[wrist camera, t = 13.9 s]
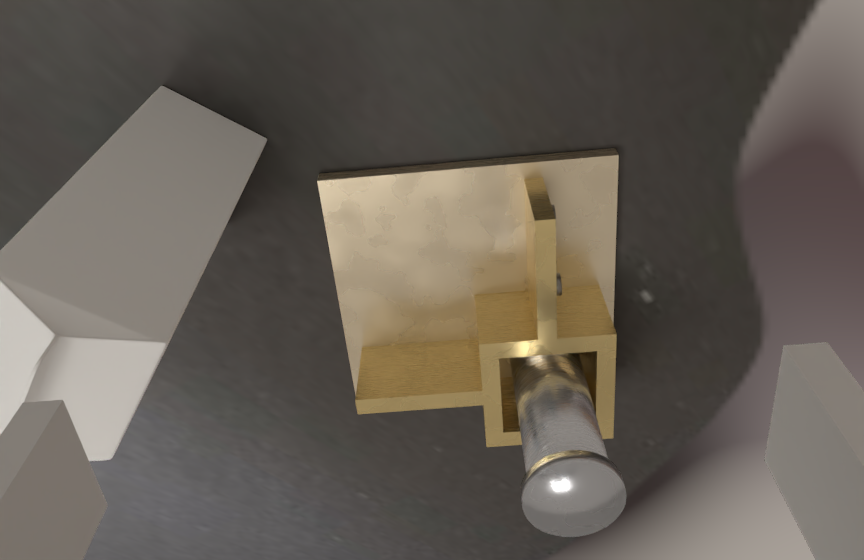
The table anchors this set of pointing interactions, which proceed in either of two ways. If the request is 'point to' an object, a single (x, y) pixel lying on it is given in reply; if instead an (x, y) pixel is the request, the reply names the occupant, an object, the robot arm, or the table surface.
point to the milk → (117, 264)
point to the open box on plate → (475, 279)
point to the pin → (563, 449)
